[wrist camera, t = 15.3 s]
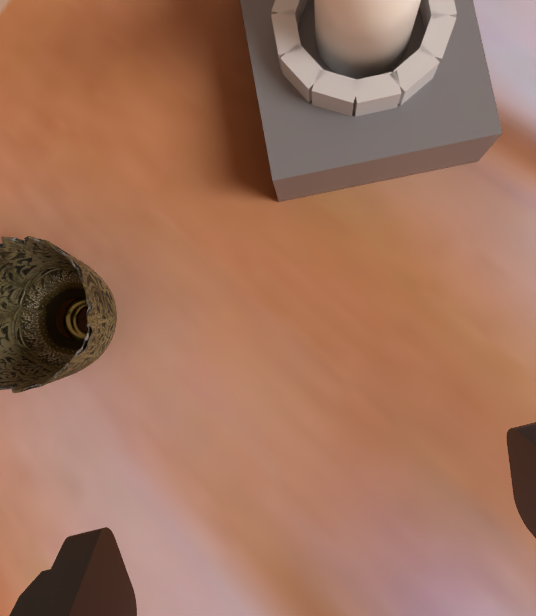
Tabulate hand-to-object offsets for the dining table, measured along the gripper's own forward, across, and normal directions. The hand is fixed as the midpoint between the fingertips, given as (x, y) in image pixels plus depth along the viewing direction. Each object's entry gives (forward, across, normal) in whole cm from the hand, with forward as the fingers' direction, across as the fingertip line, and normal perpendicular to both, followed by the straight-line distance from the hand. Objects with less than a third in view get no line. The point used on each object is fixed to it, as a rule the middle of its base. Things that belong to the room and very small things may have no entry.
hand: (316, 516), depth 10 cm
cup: (+23, +11, -1) cm, 25 cm away
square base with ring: (+24, -9, -12) cm, 28 cm away
